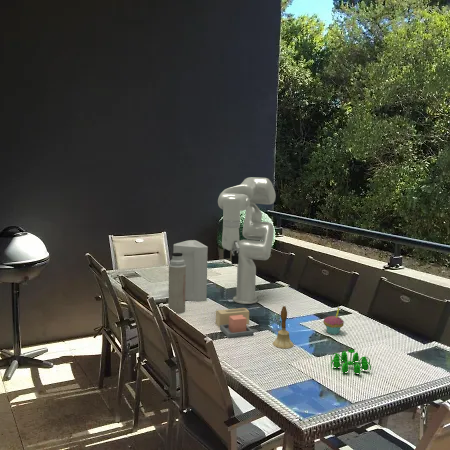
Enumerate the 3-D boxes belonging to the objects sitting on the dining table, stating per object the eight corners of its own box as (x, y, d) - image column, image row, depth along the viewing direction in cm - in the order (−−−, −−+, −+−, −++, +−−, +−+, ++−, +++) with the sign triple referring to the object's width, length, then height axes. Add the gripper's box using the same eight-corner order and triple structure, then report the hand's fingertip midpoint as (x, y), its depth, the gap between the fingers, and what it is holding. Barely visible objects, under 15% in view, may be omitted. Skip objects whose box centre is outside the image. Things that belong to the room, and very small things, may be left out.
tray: (243, 326, 222) (243, 322, 222) (253, 335, 212) (253, 331, 212) (219, 329, 218) (219, 325, 218) (228, 338, 208) (229, 334, 208)
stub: (241, 327, 219) (242, 314, 218) (246, 332, 214) (246, 318, 213) (228, 329, 217) (229, 315, 216) (233, 333, 212) (233, 319, 211)
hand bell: (280, 350, 198) (281, 310, 195) (268, 342, 205) (270, 304, 202) (297, 346, 202) (299, 308, 199) (285, 339, 209) (287, 302, 206)
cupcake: (344, 330, 221) (345, 304, 219) (341, 337, 213) (343, 309, 211) (324, 327, 224) (325, 301, 222) (321, 334, 216) (322, 307, 214)
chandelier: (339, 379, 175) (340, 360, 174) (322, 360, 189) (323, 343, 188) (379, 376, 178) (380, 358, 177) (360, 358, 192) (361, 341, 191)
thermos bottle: (187, 309, 244) (188, 252, 240) (182, 314, 236) (183, 255, 232) (171, 307, 245) (171, 251, 241) (166, 312, 238) (166, 254, 233)
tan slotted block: (244, 320, 230) (245, 307, 229) (248, 324, 225) (249, 311, 224) (215, 323, 225) (215, 310, 224) (219, 327, 220) (219, 313, 220)
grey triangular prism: (168, 293, 269) (168, 241, 265) (194, 290, 275) (195, 240, 270) (179, 303, 252) (179, 248, 247) (207, 301, 257) (208, 247, 253)
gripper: (216, 220, 231) (216, 257, 234) (230, 228, 215) (230, 266, 218) (232, 220, 234) (231, 256, 237) (247, 227, 218) (246, 265, 221)
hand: (230, 261), depth 228 cm, fingers open, 9 cm apart
